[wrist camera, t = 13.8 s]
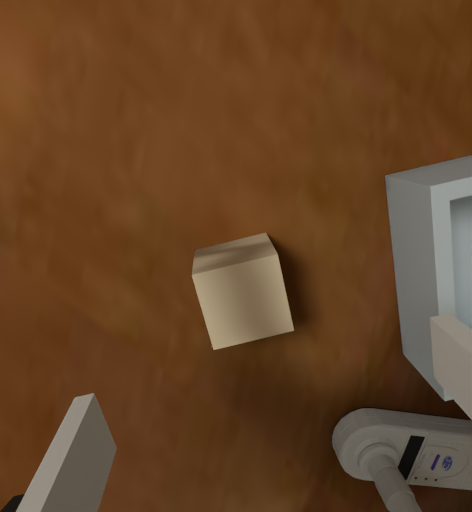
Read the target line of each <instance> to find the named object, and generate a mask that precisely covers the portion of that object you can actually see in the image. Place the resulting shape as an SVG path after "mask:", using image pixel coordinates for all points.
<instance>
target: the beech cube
mask: <svg viewBox="0 0 472 512" xmlns="http://www.w3.org/2000/svg"><path fill="white" fill-rule="evenodd" d="M192 278H193V281H194V285H195V288H196V291H197V295H198V298H199V302H200V305H201V308H202V312H203V315H204V319H205V322H206V326H207V329H208V332H209V336H210V339H211V343H212V346H213V350H216V349H220V348H224V347H228V346H233V345H237V344H241V343H245V342H249V341H253V340H257V339H261V338H266V337H270V336H274V335H278V334H282V333H286V332H290V331H294V328H293V323H292V319H291V314H290V309H289V305H288V300H287V295H286V290H285V286H284V281H283V276H282V272H281V267H280V262H279V258H278V254H277V252H276V250H275V248H274V246H273V245H272V243H271V241H270V239H269V237H268V236H267V234H266V233H262V234H258V235H254V236H250V237H246V238H242V239H238V240H234V241H230V242H226V243H222V244H218V245H213V246H209V247H205V248H201V249H197V250H195V254H194V262H193V269H192Z"/></svg>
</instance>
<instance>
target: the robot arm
mask: <svg viewBox="0 0 472 512" xmlns="http://www.w3.org/2000/svg"><path fill="white" fill-rule="evenodd" d="M430 327H431V341H432V355H433V369H434V378H435V379H436V380H437V381H438V383H439V384H440V385H441V386H442V387H443V388H444V389H445V390H446V392H447V393H448V394H449V395H450V396H451V397H452V398H453V399H454V401H455V402H456V403H457V404H458V405H459V406H460V407H461V408H462V410H463V411H464V412H465V413H466V414H467V415H468V416H469V417H470V419H471V420H472V330H471V329H470V328H468V327H467V326H466V325H465V324H463V323H462V322H461V321H459V320H458V319H457V318H456V317H454V316H453V315H452V314H450V313H447V314H443V315H439V316H434V317H430ZM116 449H117V448H116V445H115V443H114V440H113V438H112V435H111V433H110V431H109V428H108V426H107V423H106V421H105V418H104V416H103V414H102V411H101V409H100V406H99V404H98V401H97V399H96V396H95V394H94V393H93V394H89V395H84V396H80V397H75V398H74V400H73V402H72V404H71V406H70V408H69V410H68V412H67V414H66V416H65V418H64V420H63V422H62V424H61V425H60V427H59V429H58V431H57V433H56V435H55V437H54V439H53V441H52V443H51V445H50V447H49V449H48V451H47V453H46V454H45V456H44V458H43V460H42V462H41V464H40V466H39V468H38V470H37V472H36V474H35V476H34V478H33V480H32V481H31V483H30V485H29V487H28V489H27V491H26V493H25V494H23V495H18V496H14V497H13V498H12V499H11V500H10V501H9V502H8V503H7V505H6V506H5V507H4V508H3V509H2V510H1V511H0V512H98V509H99V505H100V502H101V499H102V495H103V492H104V489H105V486H106V482H107V479H108V476H109V472H110V469H111V466H112V463H113V459H114V456H115V453H116Z"/></svg>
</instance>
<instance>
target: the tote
mask: <svg viewBox="0 0 472 512" xmlns="http://www.w3.org/2000/svg"><path fill="white" fill-rule="evenodd" d="M385 182H386V191H387V201H388V211H389V221H390V230H391V240H392V250H393V260H394V269H395V279H396V289H397V299H398V308H399V318H400V328H401V338H402V347H403V354H404V355H405V357H406V358H407V359H408V360H409V361H410V362H411V363H412V365H413V366H414V367H415V368H416V369H417V370H418V371H419V373H420V374H421V375H422V376H423V377H424V378H425V379H426V381H427V382H428V383H429V384H430V385H431V386H432V387H433V389H434V390H435V391H436V392H437V393H438V394H439V395H440V397H441V398H442V399H443V400H444V401H448V400H452V399H453V398H452V397H451V396H450V395H449V394H448V393H447V392H446V390H445V389H444V388H443V387H442V386H441V385H440V384H439V383H438V381H437V380H436V379H435V378H434V369H433V355H432V341H431V327H430V317H434V316H439V315H443V314H447V313H450V314H452V315H453V316H454V317H456V318H457V319H458V320H459V321H461V322H462V323H463V324H465V325H466V326H467V327H468V328H470V329H471V330H472V155H470V156H466V157H462V158H458V159H453V160H449V161H445V162H441V163H436V164H432V165H428V166H424V167H419V168H415V169H411V170H407V171H402V172H398V173H394V174H390V175H385Z"/></svg>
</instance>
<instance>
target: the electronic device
mask: <svg viewBox="0 0 472 512" xmlns="http://www.w3.org/2000/svg"><path fill="white" fill-rule="evenodd" d="M332 446H333V448H334V450H335V452H336V455H337V457H338V460H339V462H340V464H341V466H342V467H343V469H344V471H345V472H347V473H348V474H350V475H351V476H352V477H354V478H358V479H361V480H369V481H374V482H375V486H376V488H377V490H378V491H379V493H380V495H381V497H382V499H383V501H384V503H385V505H386V507H387V509H388V510H389V511H390V512H422V511H421V509H420V508H419V506H418V504H417V502H416V501H415V496H414V494H413V492H412V491H411V489H410V487H409V486H408V484H412V485H422V486H433V487H444V488H455V489H466V490H472V421H471V420H464V419H456V418H448V417H440V416H432V415H424V414H416V413H408V412H400V411H392V410H384V409H376V408H361V409H358V410H355V411H352V412H350V413H348V414H347V415H345V416H344V417H342V418H341V420H340V421H339V422H338V424H337V425H336V426H335V429H334V432H333V435H332Z"/></svg>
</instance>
